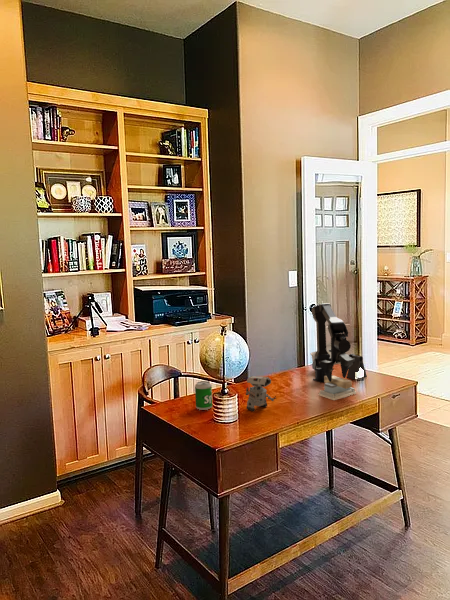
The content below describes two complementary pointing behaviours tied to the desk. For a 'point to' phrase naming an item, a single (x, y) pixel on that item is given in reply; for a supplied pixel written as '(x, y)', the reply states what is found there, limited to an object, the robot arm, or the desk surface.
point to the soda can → (203, 395)
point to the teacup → (315, 353)
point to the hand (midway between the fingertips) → (337, 379)
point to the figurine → (257, 392)
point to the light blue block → (333, 388)
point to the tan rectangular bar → (339, 382)
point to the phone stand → (356, 367)
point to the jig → (337, 394)
